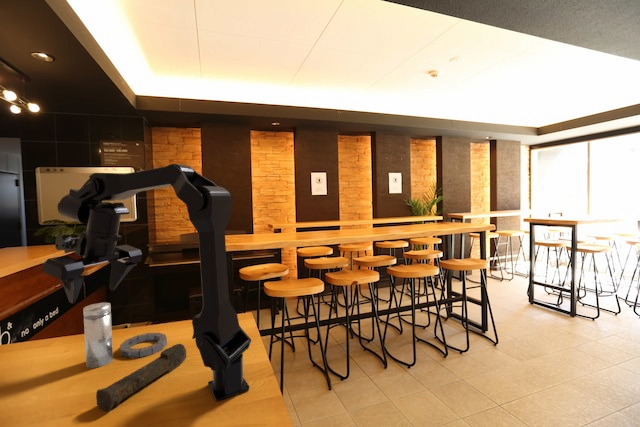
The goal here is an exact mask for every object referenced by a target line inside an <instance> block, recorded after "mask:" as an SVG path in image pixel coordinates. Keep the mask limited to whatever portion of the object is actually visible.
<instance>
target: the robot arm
mask: <svg viewBox="0 0 640 427" xmlns="http://www.w3.org/2000/svg"><path fill="white" fill-rule="evenodd" d="M169 187H170V188H171V187H172V188H173V190H174V193H175V196H176V197H177V198H178V199H179V200H180V201H181V202H182V203H183V204H185V207H186V210H187V215H188V219H189V222H190V223H191V224H192V226H193V227H194V229H195V231H196V232H197V235H198V248H199V249H198V250H199V263H200V264H199V265H200V277H201V278H200V279H201V281H200V282H201V293H202V309H201V312H200V313H198V314H196V315H195V316H193V317H192V320H191V323H192V324H191V325H192V330H193V335H192V340H195V345H196V348H197V349H198V351H199V353H200V357H201V360H202V363H203V366H204V367H206V368H209V369H211V371H212V380H209V381H208V382H207V386H208V388H209V390H210V393H211V394H212V395H213V396H212V397H213V398H214V400H215V401H216V402H221V401H222V400H223V401H224V400H225V399H228V398H230V397H234V396H235V395H238V394H241V393H243V392H246V391H249V390H250V385H249V384H248V381H246V379H245V378H244V357H243V356H244V354H243V353H244V352H246V351H247V350H248V349H249V348H250V345H251V343H252V339H251V337H250V336H249V335H248V334H247V333H246V332H245V330H244V329H243V328H242V327H241V326H240V322H239V318H238V314H237V311H236V310H235V308H234V307H233V305H232V303H231V302H230V301H231V300H230V294H229V279H228V262H227V246H226V229H227V226H228V223H229V221H230V219H231V214H232V205H233V198H232V194H231V193H230V192H229V191H228V190H227V188H224V187H222V186H218V185H217V184H216V183H215V182H213V181H212V180H211V179H208V178H206V177H205V176H203V175H202V174H200V173H199V172H197V171H196V170H195V169H194V168H193V167H191V166H189V165H186V164H180V163H179V164H178V163H170V164H168V165H166V166H160V167H155V168H150V169H149V168H148V169H144V170H140V171H139V170H137V171H133V172H128V173H112V172H110V173H109V172H94V173H91V174H90V175H89V176H88V179H87V180H86V182H84V183H83V185H82V186H81V187H80V189H78V188H75V189H74V188H70V189H69V193H68V194H67V195H64V196H63V197H62V198H61V199H60V201H59V202H58V203H57V211H58V213H59V215H60V216H62V217H64V218H67V219H70V220H73V221H75V222H78V223H81V224H84V225H87V227H86V231H81V233H80V235H79V236H78V237H72V236H71V234H61V235H56V238H55V243H54V244H55V249H56V250H57V251H64V254H69V253H74V254H75V255H76V256H79V257H80V256H82V257H81V258H78V259H76V258H74V257H71V256H69V255H61V256H56V257H51V258H47V259H46V260H44V262H43V263H42V269H41V270H42V271H41V272H42V273H43V274H46V275H49V276H51V277H53V278H55V279H57V280H60V282H61V284H62V286H63V289H64V291H65V293H66V294H65V295H66V296H67V299H68V302H69V303H70V304H75V303H76V301H77V299H78V297H79V294H80V291H81V288H82V285H83V282H84V279H85V276H83V274H84V272H85V268H88V267H91V266H96V265H101V264H106V263H110V265H111V270H110V277H109V290H111V291H115V289H117V287H118V286H119V285H120V283H121V282H122V280H123V279H124V278H125V277H126V276H127V275H128V273H129V272H130V271H131V270H133V267H135V266H137V264H138V263H139V262H142V259H143V258H142V257H143V253H142V251H141V249H140V248H136V247H134V246H131V245H129V244H122V245H117V242H121V241H122V239H123V235H119V229H120V223H121V216H123V215H129V214H130V211H129V209H128V208H127V207H126V206H125V205H124V202H113V201H125V200H127V199H129V198H132V197H134V196H135V195H137V193H141V192H144V191H145V192H146V191H151V190H155V189H163V188H169ZM110 201H112V202H113V203H112V202H110Z"/></svg>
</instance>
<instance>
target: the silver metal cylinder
mask: <svg viewBox="0 0 640 427" xmlns="http://www.w3.org/2000/svg"><path fill="white" fill-rule="evenodd" d="M111 309H112V307H111V303H110V302H98V303H93V304H89V305H86V306H84V307H83V312H82V313H83V326H84V331H83V332H84V348H85V349H84V351H85V352H84V353H85V366H86V368H87V369H97V368H101V367H104V366H106V365H108V364H110V363H112V361H114V360H113V359H114V355H113V354H114V352H113V331H112V329H113V328H112V311H111Z"/></svg>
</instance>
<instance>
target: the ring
mask: <svg viewBox="0 0 640 427" xmlns="http://www.w3.org/2000/svg"><path fill="white" fill-rule="evenodd" d="M145 342H156V343H154V344H152V345H149V346H146V347H141V348H132V347H134V346H135V345H137V344H140V343H145ZM167 345H168V338H167V336H166V334H165V333H162V332H161V333H160V332H145V333H142V334H138V335H133V337H129V338H128V339H126V340H124V341H123V342H122V343H120V346H119V348H120V349H119V351H120V356H121V357H124V358H126V359H140V358H143V357H147V356H152V355H154V354H156V353H158V352H160V351H163V349H164V348H165V347H166V346H167Z"/></svg>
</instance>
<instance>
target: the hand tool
mask: <svg viewBox="0 0 640 427" xmlns="http://www.w3.org/2000/svg"><path fill="white" fill-rule="evenodd" d="M185 360H187V350H186V347H185V346H184V344H181V343H176V344H174V345H172V346H170V347H168V348H166V349H164V350H161V352H160V355H159V356H158V357H157V358H155V359H154V360H152V361H150V362H149V363H147V364H145V365H144V366H142V367H140V368H138V369H136V370H135V371H133V372H131V373H130V374H128V375H125V376H124V377H123V378H121V379H119V380H117V381H114V382H113V383H112V384H110V385H108V386H106V387H104V388H100V389H97V390H96V394H95V396H96V397H95V399H96V405H97V407H98V409H100V410H101V411H103V412H110V411H111V410H112V409H113V407H115V406H116V407H118V406H120V403H121V402H122V401H123V400H125V399H127V398H128V397H129V396H131V395H132V394H134V393H135V392H136V391H139V390H140V389H142V388H144V387H145V386H147V385H148V384H150V383H152V381H154V380H156V379H157V378H158V377H160V376H162V375H164V374H168V373H169V374H170V373H171V372H173V371H174V370H175V369H177V368H178V367H179V366H180V365H181V364H182V363H183V362H184V361H185Z"/></svg>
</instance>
